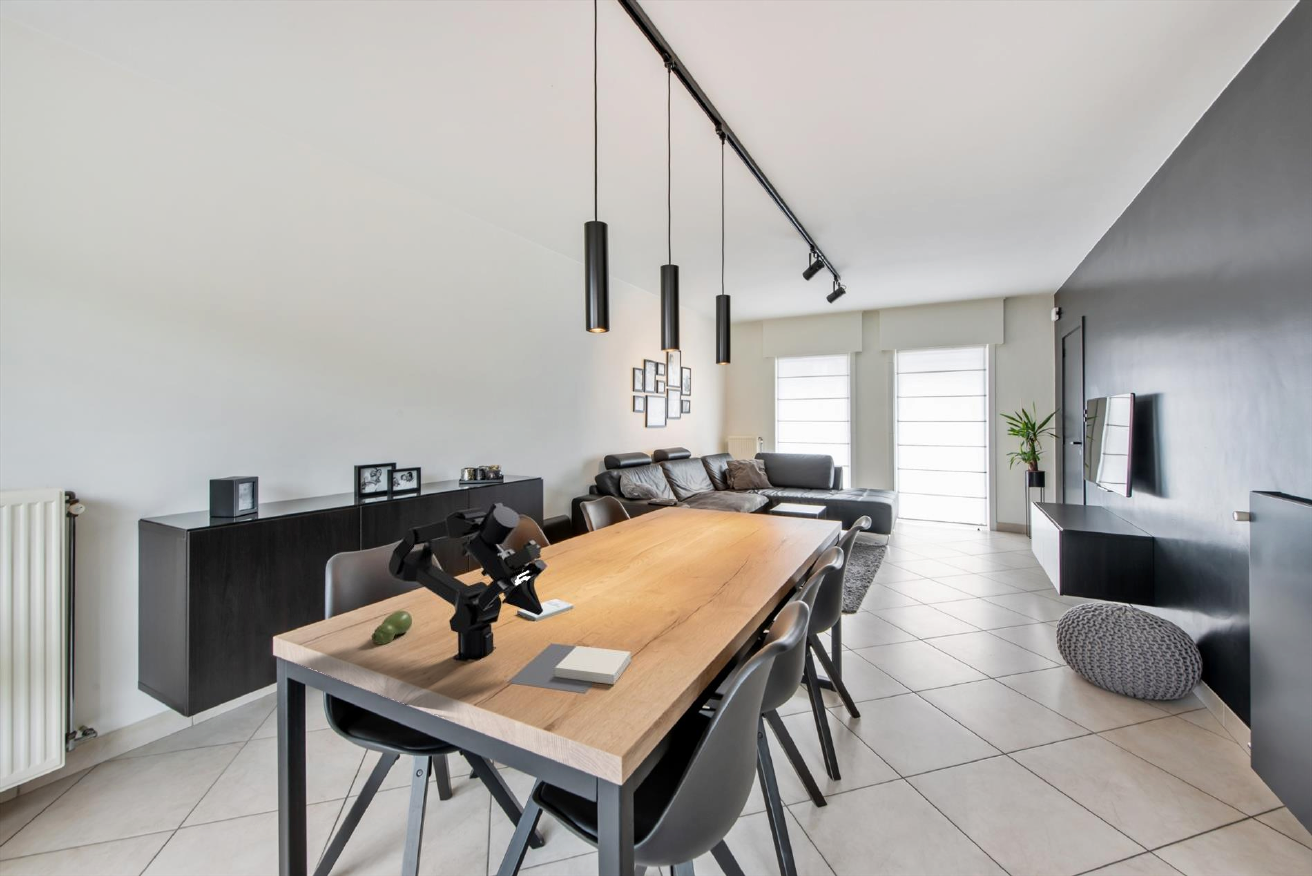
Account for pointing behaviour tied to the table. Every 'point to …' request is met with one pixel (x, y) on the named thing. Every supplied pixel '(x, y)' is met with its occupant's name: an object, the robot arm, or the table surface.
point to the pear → (392, 627)
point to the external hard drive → (547, 609)
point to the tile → (593, 664)
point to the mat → (549, 671)
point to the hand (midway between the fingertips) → (541, 613)
